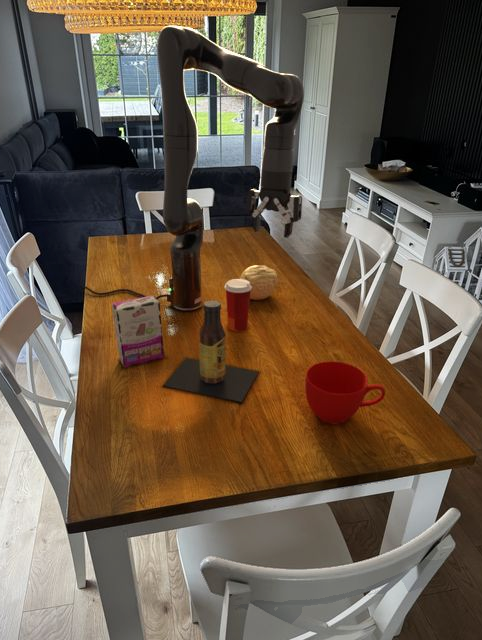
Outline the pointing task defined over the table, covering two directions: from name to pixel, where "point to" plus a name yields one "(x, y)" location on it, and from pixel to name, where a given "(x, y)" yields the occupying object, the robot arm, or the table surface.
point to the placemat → (228, 389)
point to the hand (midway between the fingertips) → (271, 234)
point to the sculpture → (260, 281)
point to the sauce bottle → (212, 344)
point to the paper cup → (237, 303)
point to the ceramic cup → (337, 391)
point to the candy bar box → (138, 330)
